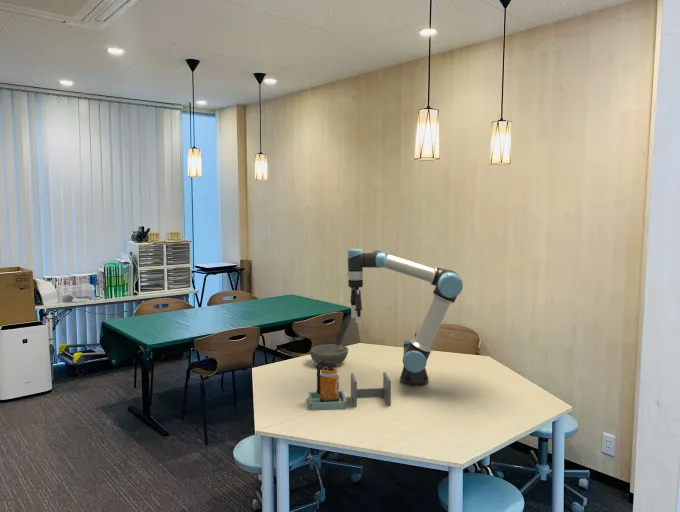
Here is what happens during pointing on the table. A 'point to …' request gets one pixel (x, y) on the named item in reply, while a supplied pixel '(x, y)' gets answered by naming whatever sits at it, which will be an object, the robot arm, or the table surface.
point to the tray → (317, 405)
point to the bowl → (329, 353)
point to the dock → (371, 390)
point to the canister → (327, 381)
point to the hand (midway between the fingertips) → (356, 320)
